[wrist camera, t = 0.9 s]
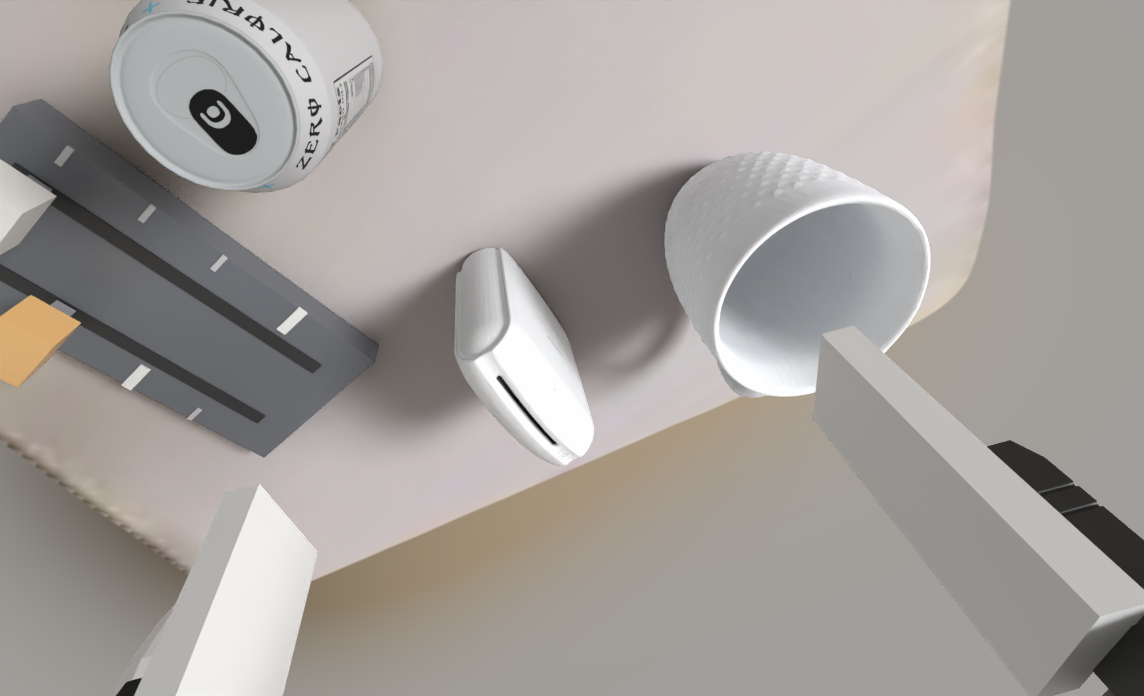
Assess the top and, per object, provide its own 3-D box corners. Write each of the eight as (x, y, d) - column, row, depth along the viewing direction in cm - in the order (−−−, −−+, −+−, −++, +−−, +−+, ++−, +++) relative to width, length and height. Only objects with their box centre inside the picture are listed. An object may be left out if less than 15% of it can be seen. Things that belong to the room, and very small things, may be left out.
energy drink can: (327, -43, 26) (195, -70, 13) (408, 77, 29) (363, 144, 17) (231, 29, 27) (27, 66, 14) (321, 138, 30) (218, 243, 18)
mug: (769, 323, 42) (871, 438, 32) (633, 337, 41) (690, 462, 30) (813, 121, 34) (972, 185, 23) (643, 132, 33) (728, 203, 22)
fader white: (-11, 196, 27) (-83, 228, 23) (26, 147, 26) (-44, 172, 22) (43, 230, 28) (-18, 265, 25) (80, 184, 27) (22, 213, 24)
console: (-71, 252, 30) (-104, 268, 28) (41, 97, 27) (12, 105, 25) (271, 439, 41) (262, 459, 39) (379, 344, 38) (375, 361, 36)
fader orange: (21, 318, 31) (-38, 361, 27) (54, 278, 30) (-3, 318, 26) (67, 343, 32) (17, 387, 28) (100, 305, 31) (53, 347, 27)
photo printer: (577, 342, 40) (613, 461, 30) (528, 369, 41) (548, 495, 31) (501, 232, 35) (514, 334, 25) (446, 266, 35) (437, 379, 25)
